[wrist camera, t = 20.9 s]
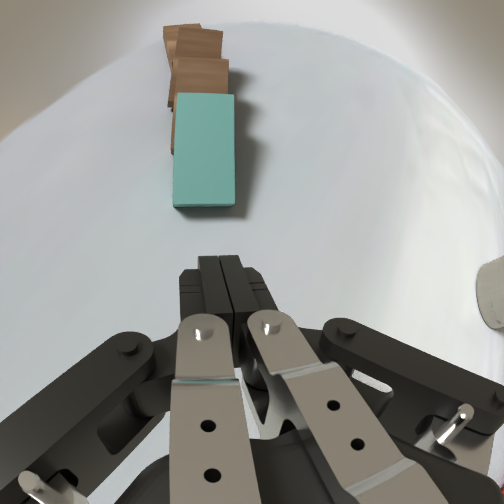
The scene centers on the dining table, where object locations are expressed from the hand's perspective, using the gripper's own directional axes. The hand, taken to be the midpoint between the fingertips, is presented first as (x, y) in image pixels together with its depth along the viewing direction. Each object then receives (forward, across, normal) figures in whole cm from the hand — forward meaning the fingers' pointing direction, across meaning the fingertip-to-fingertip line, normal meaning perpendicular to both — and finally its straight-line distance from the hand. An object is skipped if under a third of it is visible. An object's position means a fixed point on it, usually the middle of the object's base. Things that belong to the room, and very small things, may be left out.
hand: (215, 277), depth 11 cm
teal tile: (+14, -1, +1) cm, 14 cm away
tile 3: (+22, 0, -7) cm, 23 cm away
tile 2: (+18, 0, -3) cm, 18 cm away
